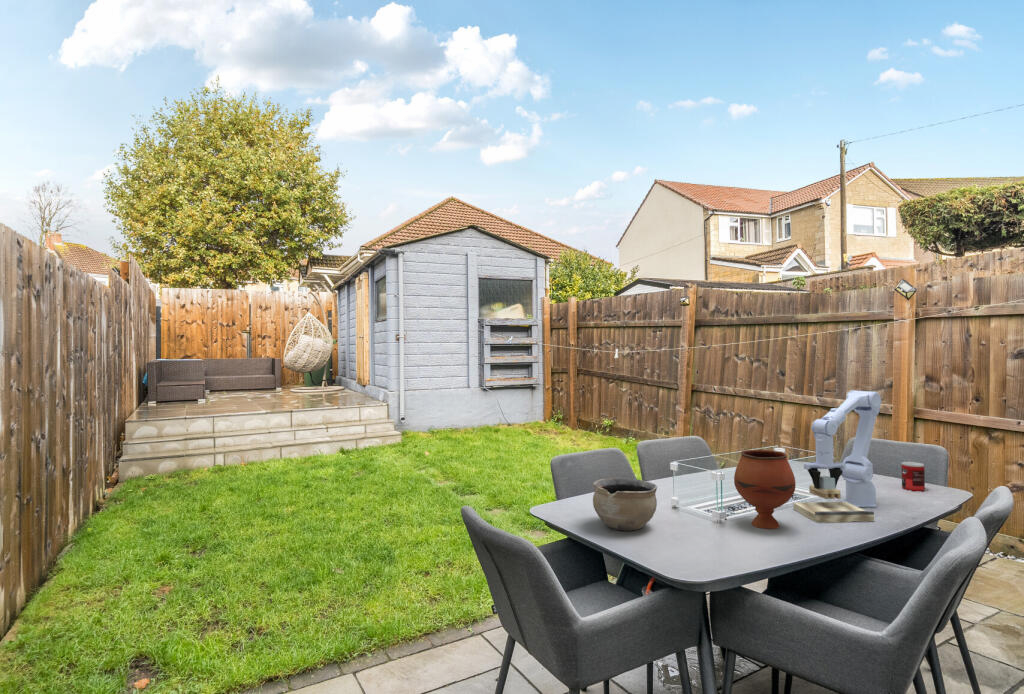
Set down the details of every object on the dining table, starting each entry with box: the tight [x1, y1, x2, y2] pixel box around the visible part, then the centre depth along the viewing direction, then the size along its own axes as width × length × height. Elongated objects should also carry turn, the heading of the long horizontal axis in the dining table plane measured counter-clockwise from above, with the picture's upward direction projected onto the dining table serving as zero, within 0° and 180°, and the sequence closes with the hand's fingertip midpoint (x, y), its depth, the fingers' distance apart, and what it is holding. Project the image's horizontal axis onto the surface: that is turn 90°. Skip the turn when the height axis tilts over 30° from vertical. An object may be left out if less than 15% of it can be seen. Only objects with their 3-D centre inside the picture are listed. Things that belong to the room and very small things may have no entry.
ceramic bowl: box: [592, 477, 658, 531], centre depth 192 cm, size 22×22×15 cm
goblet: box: [733, 449, 797, 530], centre depth 191 cm, size 19×19×25 cm
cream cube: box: [811, 474, 829, 486], centre depth 210 cm, size 4×4×4 cm
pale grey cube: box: [819, 476, 835, 489], centre depth 205 cm, size 4×4×4 cm
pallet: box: [808, 484, 842, 500], centre depth 207 cm, size 6×11×3 cm, turn 0°
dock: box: [793, 501, 875, 523], centre depth 201 cm, size 20×16×4 cm
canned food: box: [900, 461, 926, 492], centre depth 235 cm, size 8×8×11 cm
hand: (825, 488), depth 207 cm, fingers closed on pallet, 5 cm apart
